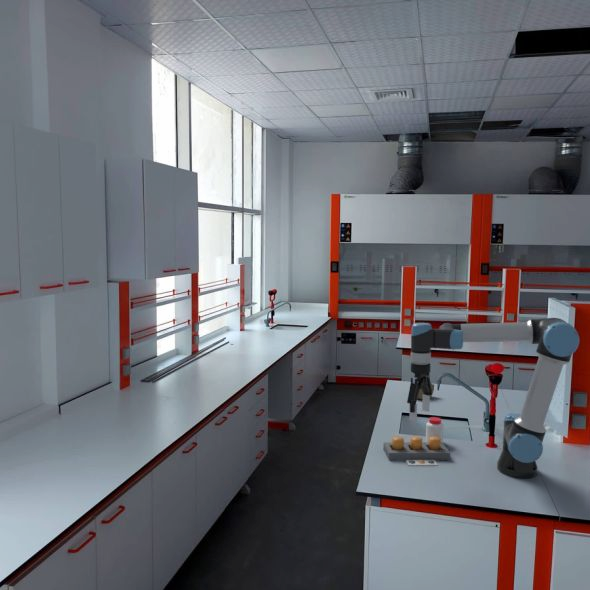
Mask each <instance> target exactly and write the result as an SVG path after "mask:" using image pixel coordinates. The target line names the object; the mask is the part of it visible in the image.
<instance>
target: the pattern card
mask: <svg viewBox="0 0 590 590" xmlns="http://www.w3.org/2000/svg"><path fill="white" fill-rule="evenodd" d="M405 462H406V464H407V465H408V467H410V466H411V467H413V466H416V467H417V466H418V467H419V466H421V467H424V466H425V467H426V466H427V467H429V466H432V467H434V466H438V463H437V462H436V460H405Z"/></svg>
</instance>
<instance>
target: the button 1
mask: <svg viewBox="0 0 590 590" xmlns="http://www.w3.org/2000/svg"><path fill="white" fill-rule="evenodd" d="M404 441H405V438H404V437H401V436H393V437H392V438H391V442H392V449H393V450H404Z"/></svg>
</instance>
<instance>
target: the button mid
mask: <svg viewBox="0 0 590 590" xmlns="http://www.w3.org/2000/svg"><path fill="white" fill-rule="evenodd" d="M409 439H410V441H409V442H410V449H411V450H422V442H423V438H422V437H420V436H411V437H410V438H409Z"/></svg>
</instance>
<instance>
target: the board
mask: <svg viewBox="0 0 590 590" xmlns="http://www.w3.org/2000/svg"><path fill="white" fill-rule="evenodd" d="M428 447H429V442H426V441H425V442H424V441H422V450H411V449H410V441H408V442H404V450H393V449H392V441H391V442H389V441H387V442H383V451H384V454H385V455H386V458H387V459H388V461H406V460H435V461H437V460H439V461H441V460H442V461H444V460H445V461H446V460H447V461H450V460H451V452H450V450H449V449H448V448H447V447H446V446H445V444H444V442H443V443H442V442H441V445H440V450H430V449H429V448H428Z"/></svg>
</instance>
